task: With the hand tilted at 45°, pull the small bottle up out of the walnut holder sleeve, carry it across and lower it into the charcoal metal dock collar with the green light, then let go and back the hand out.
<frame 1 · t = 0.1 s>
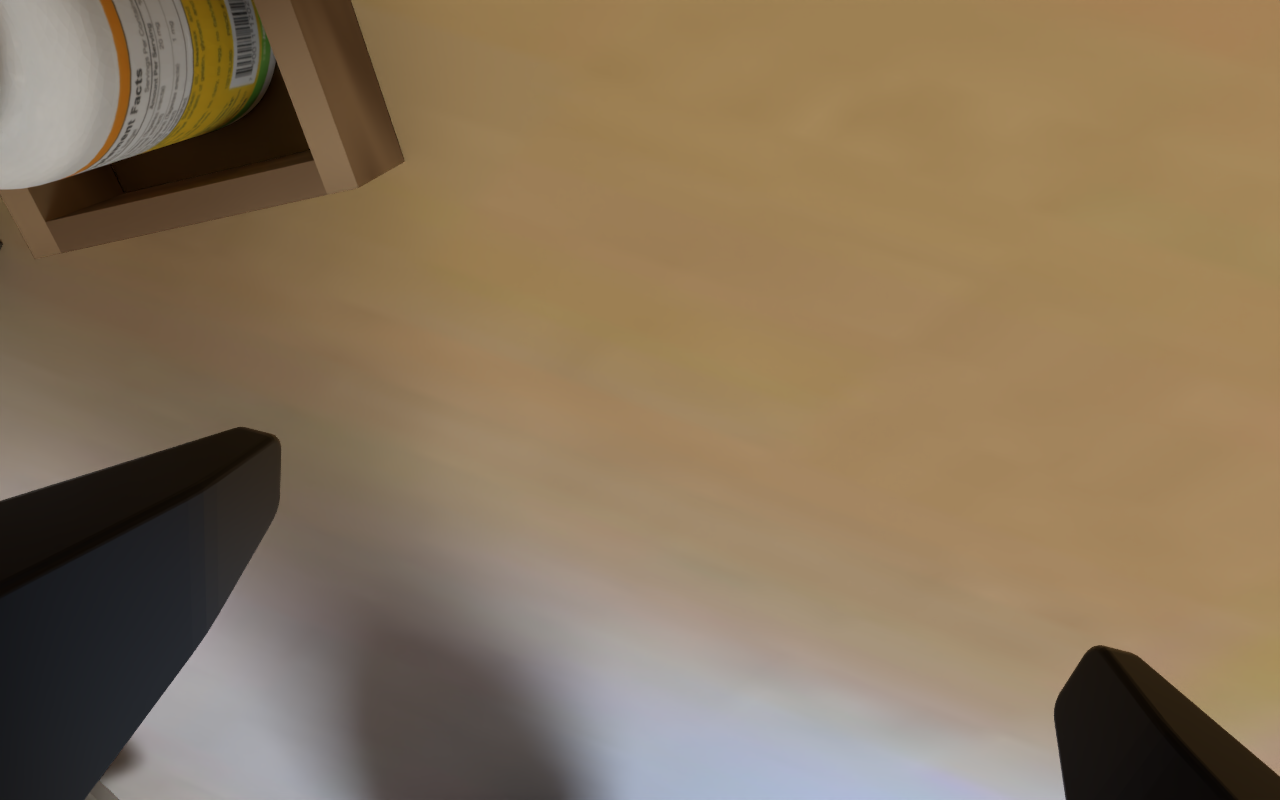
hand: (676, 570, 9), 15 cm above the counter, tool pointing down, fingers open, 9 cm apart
holder sleeve: (179, 19, 22), on the counter
supplement bottle: (185, 18, 22), resting in holder sleeve
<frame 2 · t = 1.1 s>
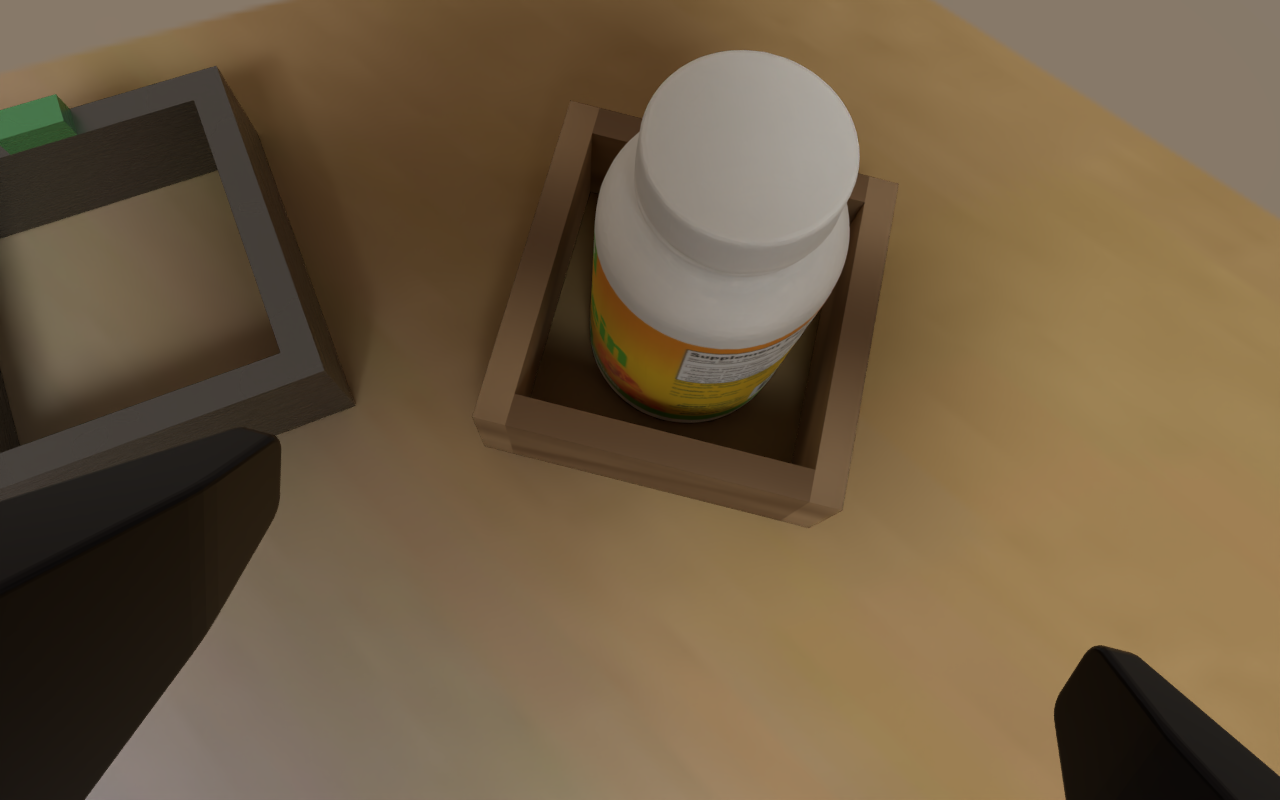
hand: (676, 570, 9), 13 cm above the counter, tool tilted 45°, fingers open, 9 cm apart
holder sleeve: (683, 335, 24), on the counter
supplement bottle: (682, 338, 25), resting in holder sleeve
dock collar: (141, 318, 23), on the counter
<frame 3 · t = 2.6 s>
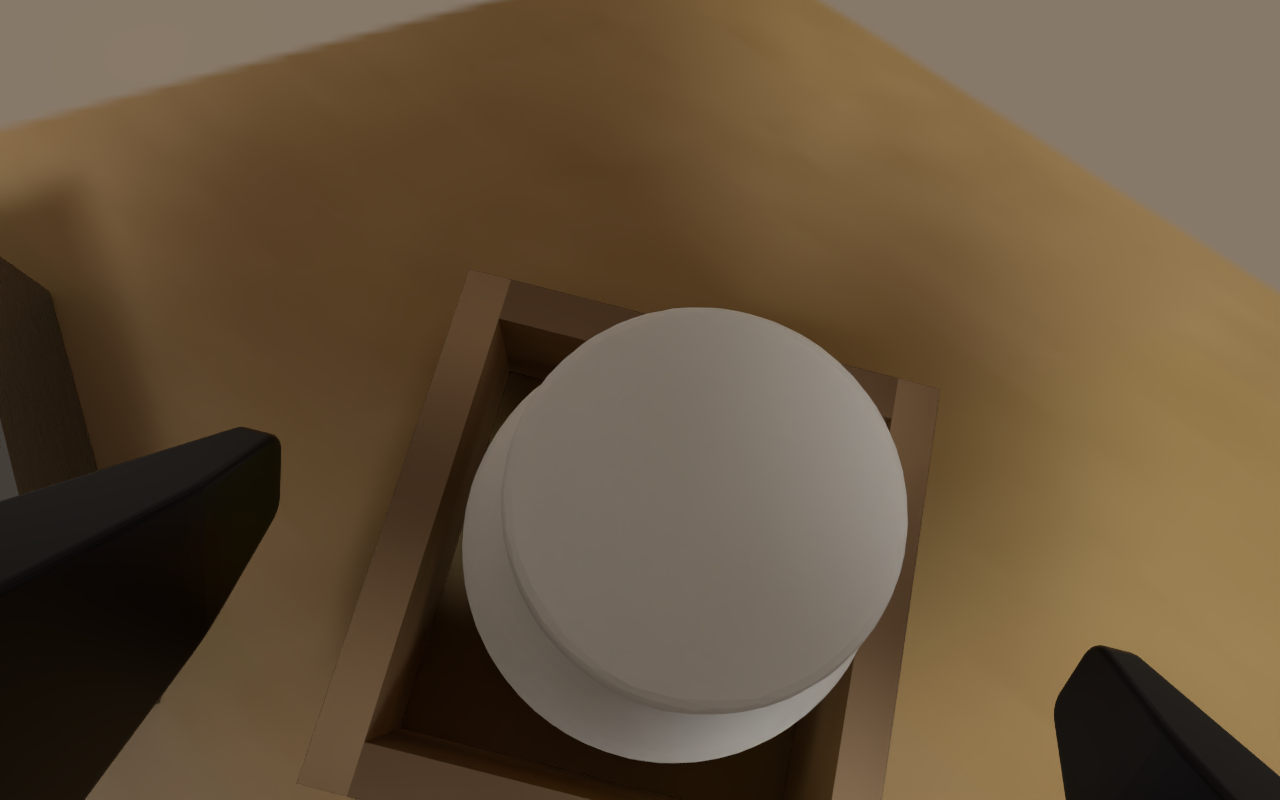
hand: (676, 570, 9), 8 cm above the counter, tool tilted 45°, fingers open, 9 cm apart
holder sleeve: (635, 583, 17), on the counter
supplement bottle: (634, 584, 18), resting in holder sleeve
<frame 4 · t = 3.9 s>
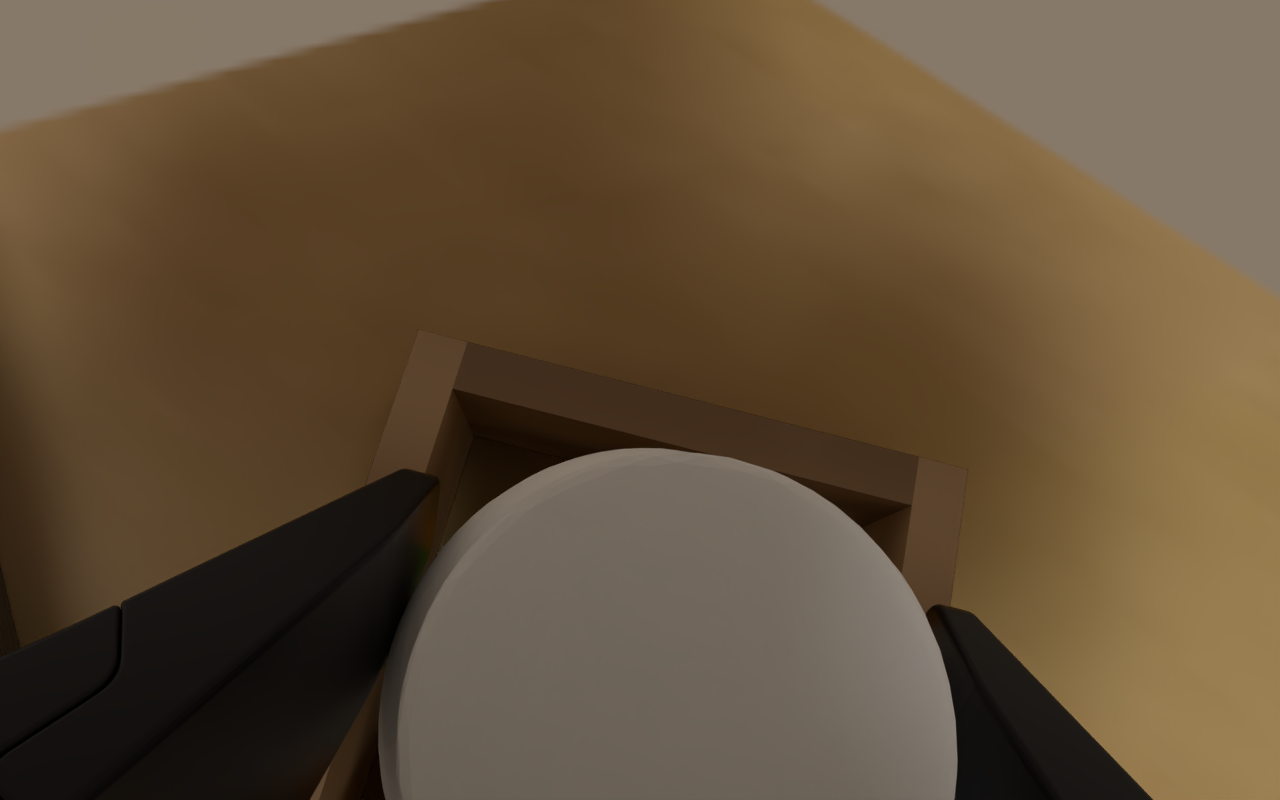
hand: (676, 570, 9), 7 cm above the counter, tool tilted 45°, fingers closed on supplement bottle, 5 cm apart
holder sleeve: (615, 683, 15), on the counter
supplement bottle: (615, 683, 15), resting in holder sleeve, touching gripper
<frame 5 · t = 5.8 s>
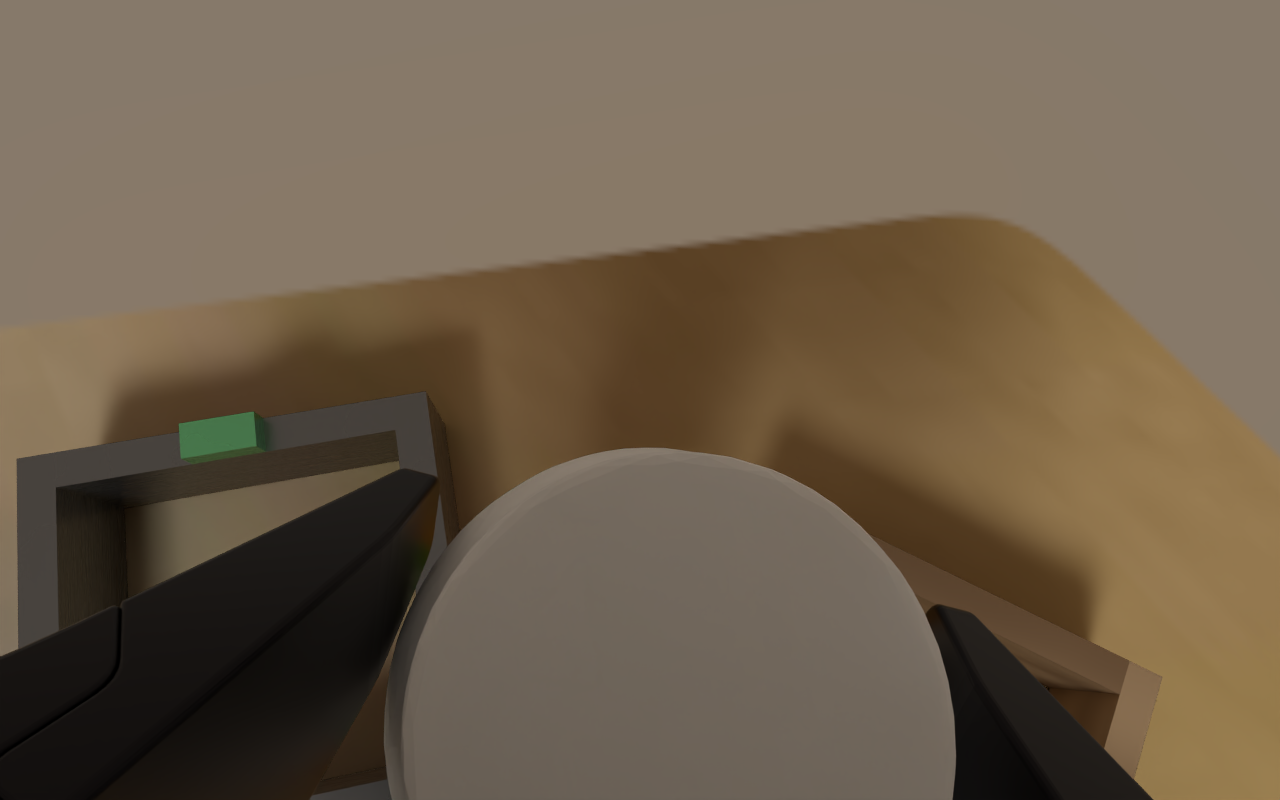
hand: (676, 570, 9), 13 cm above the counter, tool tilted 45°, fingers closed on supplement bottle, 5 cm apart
holder sleeve: (867, 761, 22), on the counter
supplement bottle: (620, 681, 16), point 6 cm above the counter, touching gripper
dock collar: (286, 626, 21), on the counter
when the fingers open (8 cm above the counter, at t = 8.0 s): supplement bottle drops 2 cm, resting in dock collar.
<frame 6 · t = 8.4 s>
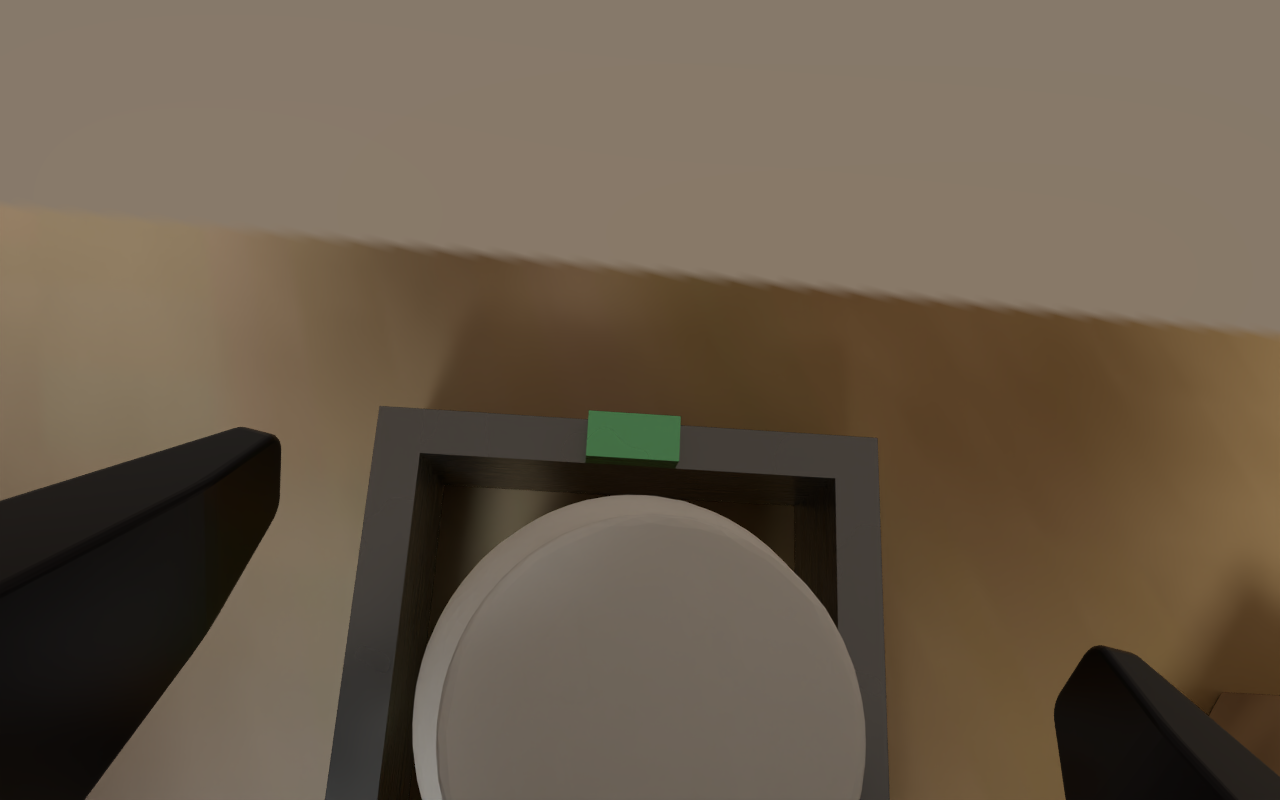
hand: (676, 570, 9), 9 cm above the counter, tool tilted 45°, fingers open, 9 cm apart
supplement bottle: (610, 687, 17), resting in dock collar
dock collar: (611, 679, 17), on the counter
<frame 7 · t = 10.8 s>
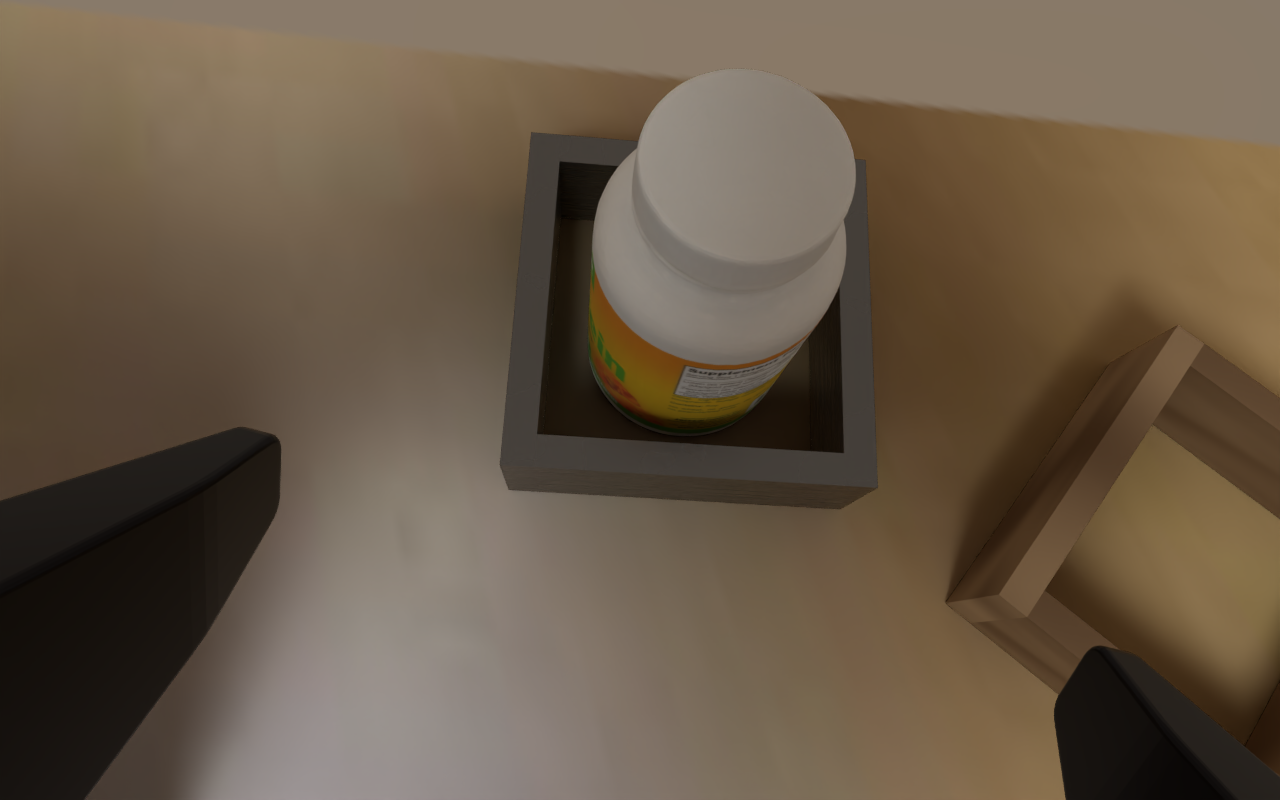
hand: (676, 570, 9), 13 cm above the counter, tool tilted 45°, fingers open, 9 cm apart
holder sleeve: (1167, 581, 24), on the counter
supplement bottle: (680, 351, 25), resting in dock collar
dock collar: (681, 343, 25), on the counter
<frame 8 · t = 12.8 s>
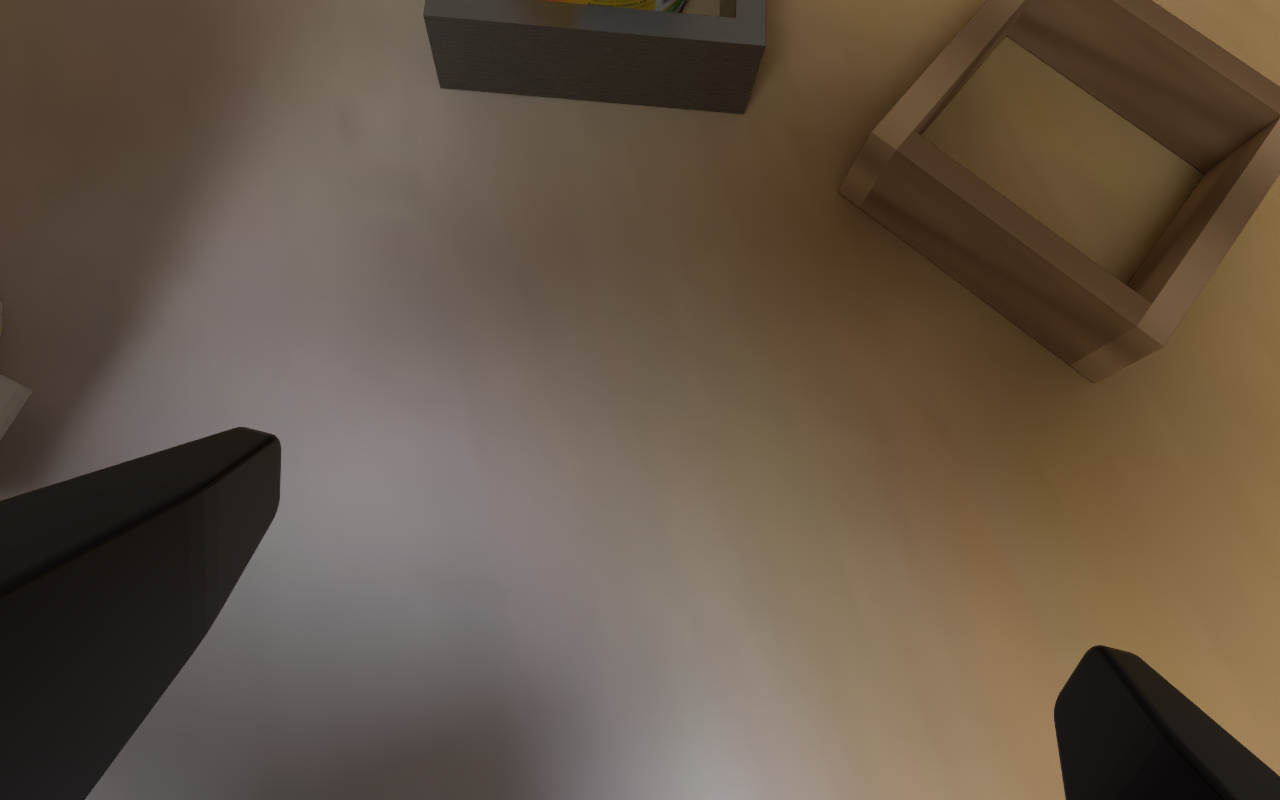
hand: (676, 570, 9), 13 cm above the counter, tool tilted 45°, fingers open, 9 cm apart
holder sleeve: (1043, 181, 26), on the counter
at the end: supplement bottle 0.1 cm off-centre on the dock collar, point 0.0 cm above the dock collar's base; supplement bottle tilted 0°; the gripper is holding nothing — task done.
